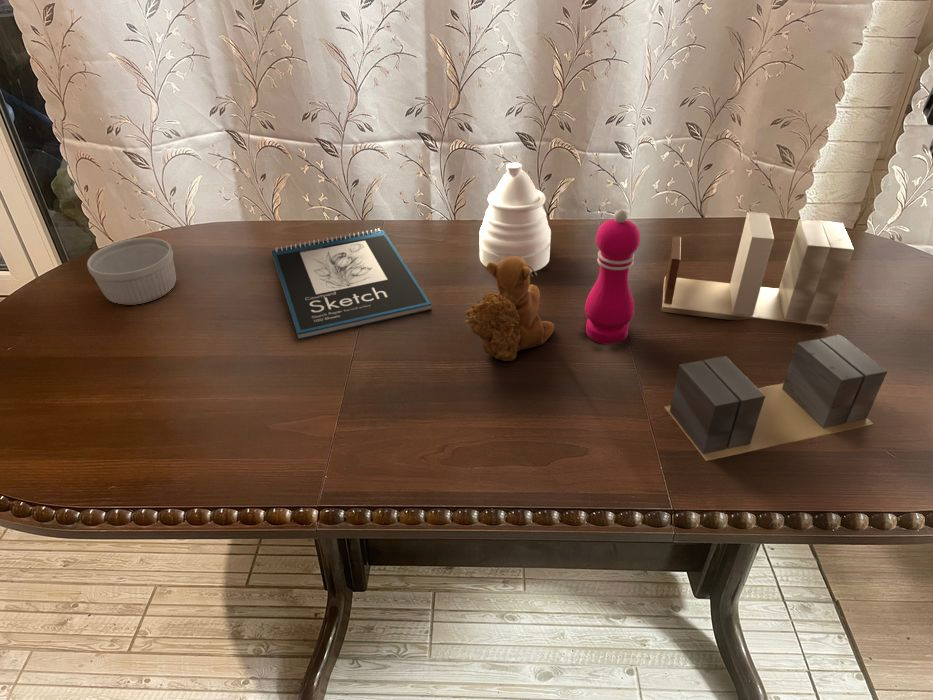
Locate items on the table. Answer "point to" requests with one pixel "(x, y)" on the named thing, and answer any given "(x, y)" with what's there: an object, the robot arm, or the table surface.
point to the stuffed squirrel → (509, 312)
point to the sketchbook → (346, 283)
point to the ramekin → (134, 270)
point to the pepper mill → (612, 281)
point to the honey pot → (515, 222)
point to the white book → (751, 263)
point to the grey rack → (775, 399)
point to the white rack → (801, 289)
